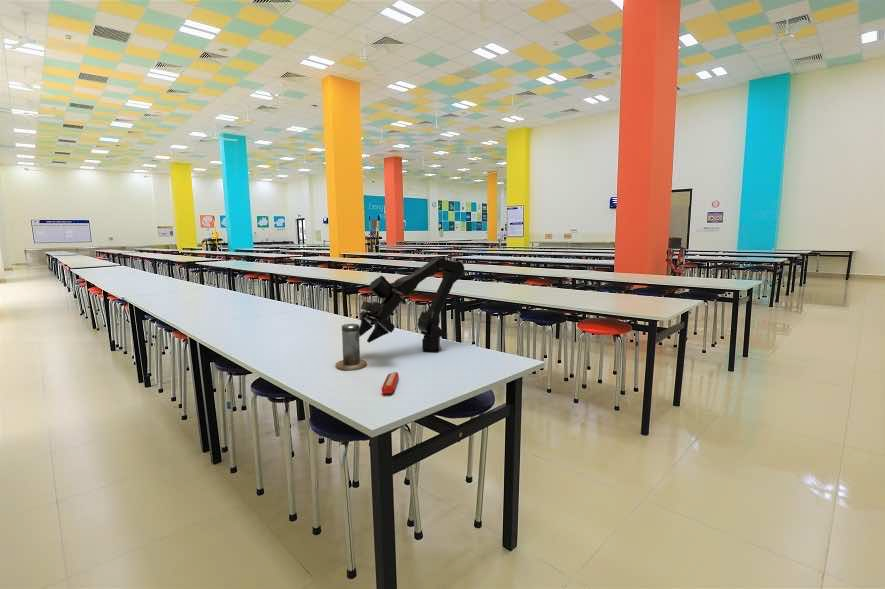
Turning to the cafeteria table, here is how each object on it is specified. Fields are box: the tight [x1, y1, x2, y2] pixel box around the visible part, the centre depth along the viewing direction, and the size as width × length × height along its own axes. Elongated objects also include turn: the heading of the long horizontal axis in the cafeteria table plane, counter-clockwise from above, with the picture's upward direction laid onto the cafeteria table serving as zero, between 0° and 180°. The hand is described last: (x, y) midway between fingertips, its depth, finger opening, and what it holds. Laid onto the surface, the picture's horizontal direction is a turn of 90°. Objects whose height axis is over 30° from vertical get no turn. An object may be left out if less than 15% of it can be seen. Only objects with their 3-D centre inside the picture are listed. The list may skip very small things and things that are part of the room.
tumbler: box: [341, 323, 361, 366], centre depth 154 cm, size 6×6×14 cm
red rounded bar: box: [381, 371, 400, 396], centre depth 134 cm, size 16×4×3 cm, turn 178°
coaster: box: [335, 358, 368, 372], centre depth 155 cm, size 11×11×1 cm
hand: (362, 339), depth 157 cm, fingers open, 9 cm apart
